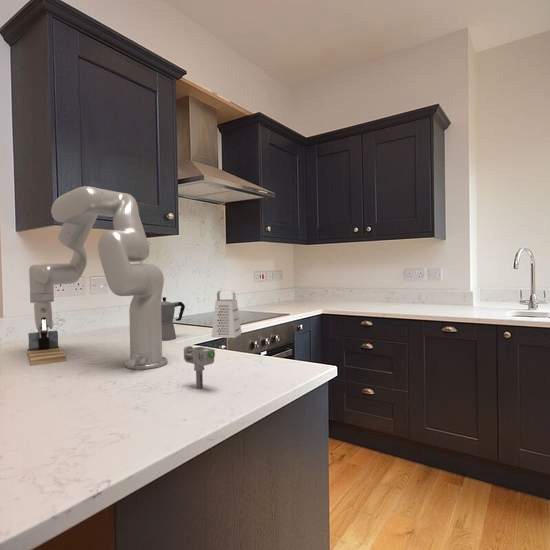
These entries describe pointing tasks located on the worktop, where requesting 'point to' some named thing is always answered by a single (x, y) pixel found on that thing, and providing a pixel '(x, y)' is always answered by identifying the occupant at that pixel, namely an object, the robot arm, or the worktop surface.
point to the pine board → (46, 356)
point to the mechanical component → (199, 361)
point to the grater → (226, 318)
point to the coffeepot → (169, 318)
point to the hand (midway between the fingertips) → (43, 347)
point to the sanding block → (35, 340)
